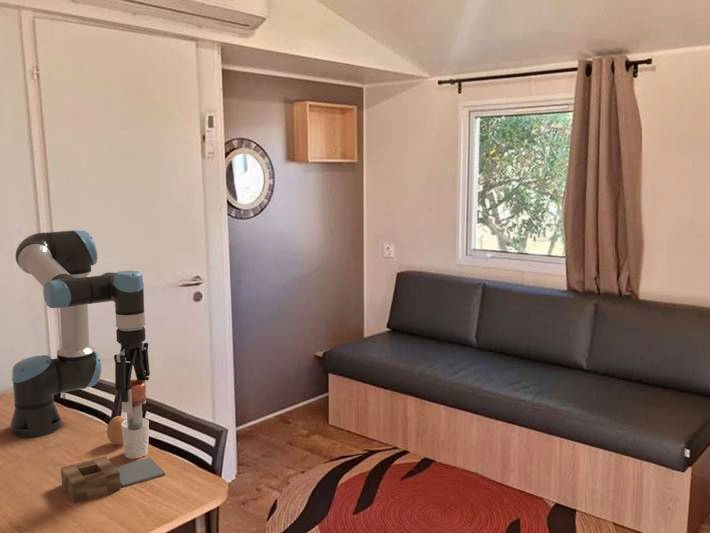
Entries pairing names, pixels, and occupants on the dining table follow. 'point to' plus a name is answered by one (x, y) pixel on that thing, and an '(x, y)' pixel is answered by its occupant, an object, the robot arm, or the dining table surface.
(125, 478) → the mat
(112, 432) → the egg
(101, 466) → the eye block
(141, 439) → the white cup
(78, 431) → the dining table surface
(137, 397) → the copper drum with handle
